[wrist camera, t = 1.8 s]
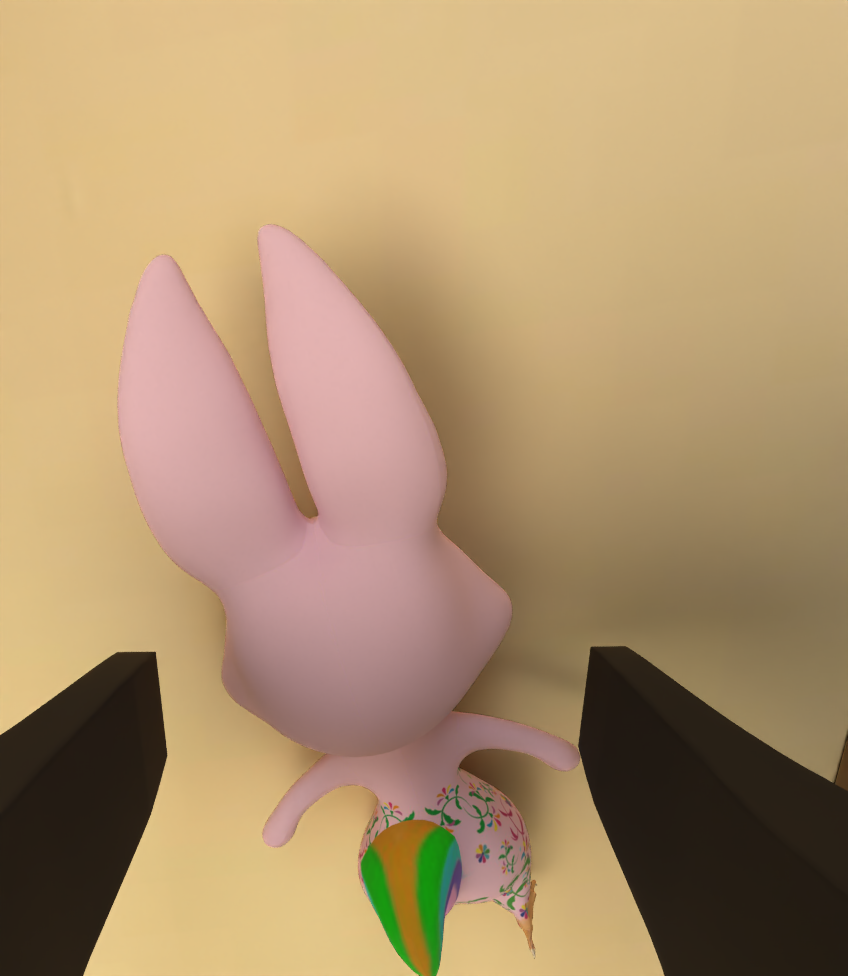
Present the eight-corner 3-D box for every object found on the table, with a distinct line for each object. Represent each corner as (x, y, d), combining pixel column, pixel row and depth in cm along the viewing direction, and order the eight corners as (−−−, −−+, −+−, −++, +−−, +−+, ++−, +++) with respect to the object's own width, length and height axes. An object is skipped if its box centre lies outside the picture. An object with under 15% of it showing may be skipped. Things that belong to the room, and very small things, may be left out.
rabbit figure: (577, 802, 17) (436, 163, 10) (680, 1101, 12) (541, 210, 5) (337, 866, 17) (30, 281, 10) (336, 1186, 12) (-299, 449, 5)
